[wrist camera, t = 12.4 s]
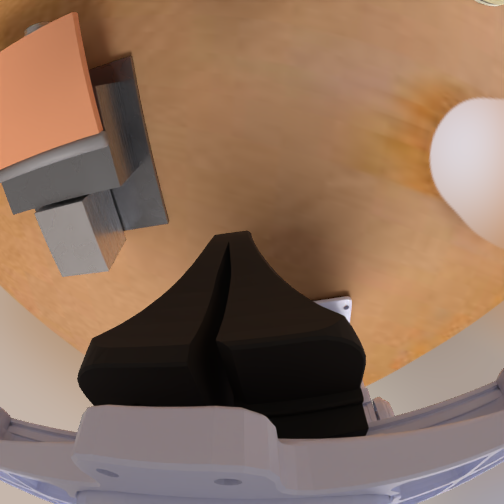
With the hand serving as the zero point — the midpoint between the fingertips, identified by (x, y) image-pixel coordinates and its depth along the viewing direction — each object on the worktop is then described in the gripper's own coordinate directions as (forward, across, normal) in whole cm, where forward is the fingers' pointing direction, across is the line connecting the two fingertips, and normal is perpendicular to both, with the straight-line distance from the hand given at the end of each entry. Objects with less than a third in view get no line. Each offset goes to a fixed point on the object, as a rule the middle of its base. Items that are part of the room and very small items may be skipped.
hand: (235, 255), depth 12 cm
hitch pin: (+10, +11, -5) cm, 16 cm away
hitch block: (+10, +11, -3) cm, 15 cm away
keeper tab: (+6, +11, -8) cm, 15 cm away
